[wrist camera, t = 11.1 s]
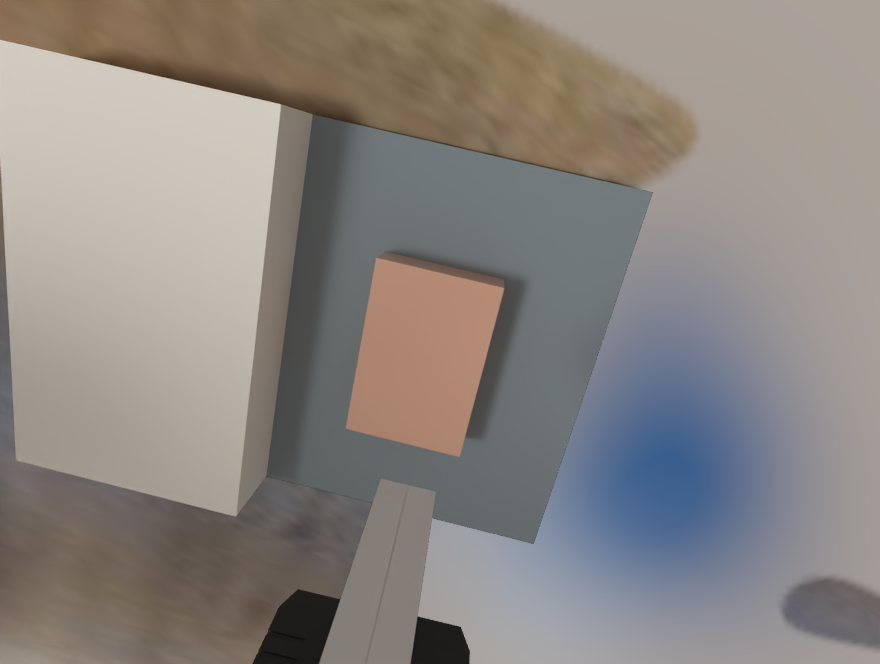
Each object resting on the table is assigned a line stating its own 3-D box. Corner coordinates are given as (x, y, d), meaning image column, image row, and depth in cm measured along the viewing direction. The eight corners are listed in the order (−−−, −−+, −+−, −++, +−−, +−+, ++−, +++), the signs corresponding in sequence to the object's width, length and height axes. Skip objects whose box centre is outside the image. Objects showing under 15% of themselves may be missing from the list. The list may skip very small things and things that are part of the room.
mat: (533, 540, 30) (533, 543, 29) (268, 473, 30) (266, 476, 30) (651, 192, 24) (652, 192, 23) (314, 115, 24) (312, 114, 24)
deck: (268, 473, 30) (235, 516, 26) (75, 424, 31) (16, 460, 27) (314, 115, 24) (281, 104, 20) (71, 59, 24) (-6, 38, 21)
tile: (345, 428, 26) (355, 411, 28) (459, 457, 26) (462, 437, 28) (376, 257, 23) (385, 251, 25) (504, 288, 23) (503, 279, 25)
